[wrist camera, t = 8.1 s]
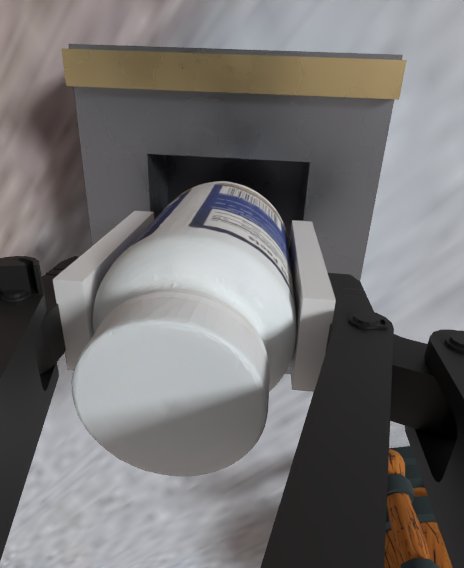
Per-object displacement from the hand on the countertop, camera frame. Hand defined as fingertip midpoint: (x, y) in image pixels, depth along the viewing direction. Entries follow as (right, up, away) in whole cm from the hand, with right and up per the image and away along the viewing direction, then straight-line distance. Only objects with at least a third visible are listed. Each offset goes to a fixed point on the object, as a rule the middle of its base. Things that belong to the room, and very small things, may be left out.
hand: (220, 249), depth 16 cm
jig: (0, +2, +5) cm, 5 cm away
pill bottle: (0, 0, +1) cm, 1 cm away
